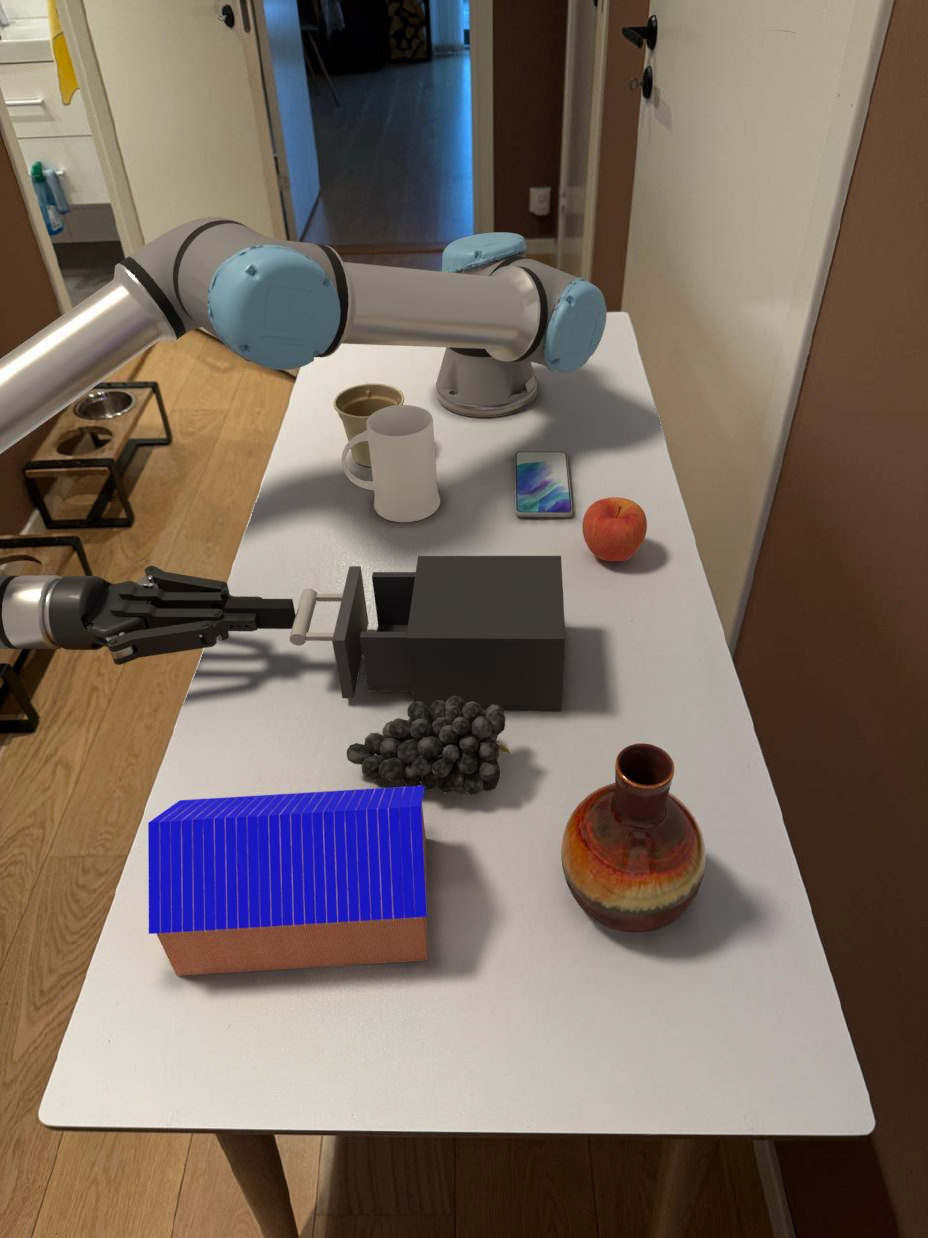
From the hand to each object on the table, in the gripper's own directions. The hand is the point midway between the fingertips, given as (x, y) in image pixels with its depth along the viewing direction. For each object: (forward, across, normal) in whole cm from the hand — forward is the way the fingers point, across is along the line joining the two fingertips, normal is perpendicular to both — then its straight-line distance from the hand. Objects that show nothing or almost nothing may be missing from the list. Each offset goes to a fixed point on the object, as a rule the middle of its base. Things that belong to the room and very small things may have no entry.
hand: (292, 613), depth 92 cm
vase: (+32, +26, -7) cm, 41 cm away
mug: (+6, -30, -7) cm, 32 cm away
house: (+6, +28, -7) cm, 29 cm away
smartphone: (+25, -34, -7) cm, 43 cm away
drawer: (+9, 0, -6) cm, 11 cm away
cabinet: (+20, 0, -7) cm, 21 cm away
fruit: (+15, +14, -7) cm, 21 cm away
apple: (+33, -19, -7) cm, 39 cm away
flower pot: (+2, -42, -7) cm, 43 cm away
